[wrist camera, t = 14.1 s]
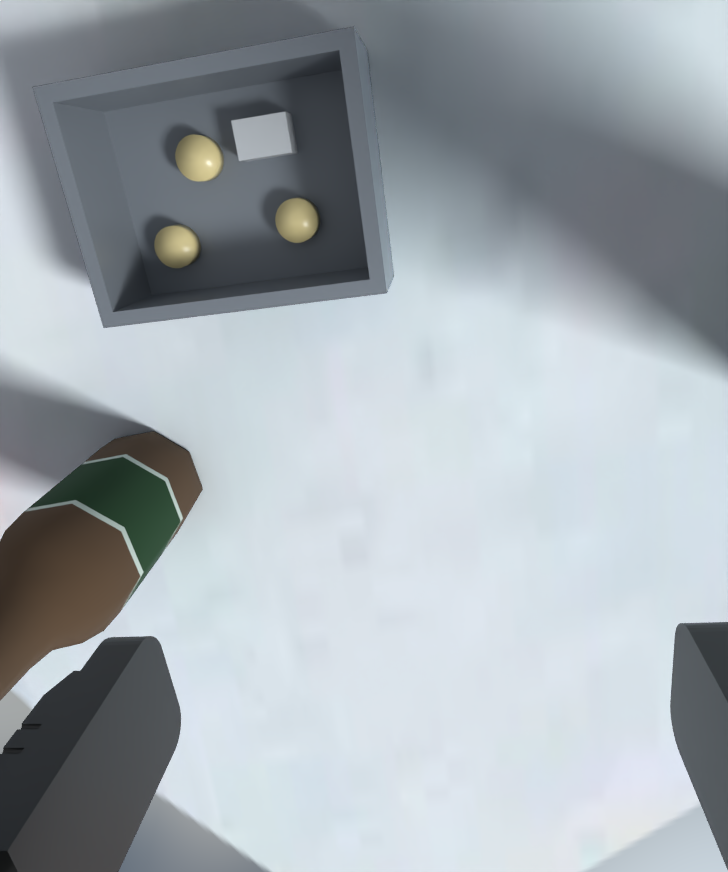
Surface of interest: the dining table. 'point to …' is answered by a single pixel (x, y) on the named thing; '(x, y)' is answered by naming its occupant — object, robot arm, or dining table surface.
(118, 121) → the tub
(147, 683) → the robot arm
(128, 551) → the beer bottle
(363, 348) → the dining table surface
